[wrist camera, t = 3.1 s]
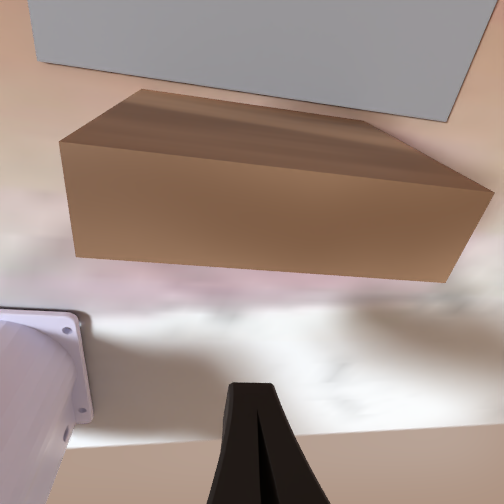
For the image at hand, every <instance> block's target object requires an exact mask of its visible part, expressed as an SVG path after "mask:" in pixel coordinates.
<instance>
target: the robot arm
mask: <svg viewBox="0 0 504 504" xmlns="http://www.w3.org/2000/svg"><path fill="white" fill-rule="evenodd" d="M66 327H68V328H71V329H68V328H66ZM93 416H94V413H93V407H92V401H91V395H90V389H89V382H88V376H87V370H86V364H85V358H84V351H83V345H82V339H81V333H80V327H79V320H78V318H77V316H76V315H75V314H72V313H69V312H53V311H32V310H11V309H0V504H46V501H47V498H48V496H49V493H50V491H51V488H52V485H53V483H54V479H55V477H56V474H57V472H58V469H59V466H60V464H61V461H62V458H63V455H64V453H65V450H66V448H67V445H68V442H69V439H70V437H71V434H72V431H73V429H74V426H75V424H87V423H90V422H91V421H92V419H93ZM207 504H330V502H329V500H328V498H327V497H326V495H325V493H324V491H323V490H322V488H321V486H320V484H319V483H318V481H317V479H316V477H315V475H314V473H313V472H312V470H311V468H310V466H309V464H308V462H307V460H306V458H305V456H304V454H303V452H302V450H301V448H300V446H299V444H298V442H297V440H296V438H295V436H294V434H293V431H292V429H291V427H290V425H289V422H288V420H287V418H286V416H285V413H284V411H283V409H282V406H281V404H280V401H279V398H278V396H277V393H276V390H275V387H274V385H273V384H272V383H237V382H233V383H231V384H229V387H228V393H227V399H226V405H225V411H224V417H223V433H222V444H221V453H220V457H219V461H218V465H217V469H216V472H215V476H214V479H213V483H212V487H211V490H210V494H209V497H208V500H207Z"/></svg>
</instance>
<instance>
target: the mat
mask: <svg viewBox="0 0 504 504" xmlns="http://www.w3.org/2000/svg"><path fill="white" fill-rule="evenodd" d="M496 2H497V0H28V6H29V12H30V18H31V25H32V31H33V37H34V43H35V50H36V56H37V61H41V62H48V63H54V64H61V65H68V66H74V67H81V68H88V69H95V70H101V71H108V72H115V73H121V74H128V75H135V76H141V77H148V78H155V79H162V80H168V81H175V82H182V83H188V84H195V85H202V86H208V87H215V88H222V89H228V90H235V91H242V92H249V93H255V94H262V95H269V96H275V97H282V98H289V99H295V100H302V101H309V102H315V103H322V104H329V105H336V106H342V107H349V108H356V109H362V110H369V111H376V112H382V113H389V114H396V115H403V116H409V117H416V118H423V119H429V120H436V121H443V122H446V121H447V119H448V116H449V114H450V112H451V109H452V107H453V104H454V102H455V100H456V97H457V95H458V93H459V90H460V88H461V85H462V83H463V81H464V78H465V76H466V74H467V71H468V69H469V66H470V64H471V62H472V59H473V57H474V54H475V52H476V50H477V47H478V45H479V43H480V40H481V38H482V35H483V33H484V31H485V28H486V26H487V24H488V21H489V19H490V16H491V14H492V12H493V9H494V7H495V4H496Z"/></svg>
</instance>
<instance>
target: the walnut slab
mask: <svg viewBox="0 0 504 504" xmlns="http://www.w3.org/2000/svg"><path fill="white" fill-rule="evenodd" d="M59 146H60V153H61V160H62V166H63V173H64V180H65V187H66V193H67V200H68V207H69V214H70V220H71V227H72V234H73V241H74V247H75V254H76V257H81V258H96V259H110V260H124V261H138V262H153V263H167V264H181V265H196V266H210V267H224V268H239V269H253V270H267V271H281V272H296V273H310V274H324V275H339V276H353V277H367V278H381V279H396V280H410V281H424V282H439V283H446V281H447V279H448V277H449V275H450V273H451V272H452V270H453V268H454V266H455V264H456V262H457V261H458V259H459V257H460V255H461V253H462V252H463V250H464V248H465V246H466V244H467V242H468V241H469V239H470V237H471V235H472V233H473V231H474V230H475V228H476V226H477V224H478V222H479V221H480V219H481V217H482V215H483V213H484V211H485V210H486V208H487V206H488V204H489V202H490V200H491V199H492V197H493V195H494V192H493V191H491V190H489V189H487V188H485V187H483V186H482V185H480V184H478V183H476V182H474V181H472V180H471V179H469V178H467V177H465V176H463V175H461V174H460V173H458V172H456V171H454V170H452V169H450V168H449V167H447V166H445V165H443V164H441V163H439V162H438V161H436V160H434V159H432V158H430V157H428V156H427V155H425V154H423V153H421V152H419V151H418V150H416V149H414V148H412V147H410V146H408V145H407V144H405V143H403V142H401V141H399V140H397V139H396V138H394V137H392V136H390V135H388V134H386V133H385V132H383V131H381V130H379V129H377V128H375V127H374V126H372V125H370V124H368V123H366V122H364V121H361V120H354V119H347V118H340V117H333V116H326V115H319V114H312V113H306V112H299V111H292V110H285V109H278V108H271V107H264V106H257V105H250V104H243V103H236V102H229V101H222V100H215V99H208V98H201V97H194V96H188V95H181V94H174V93H167V92H160V91H153V90H146V89H141V90H139V91H138V92H136V93H135V94H133V95H131V96H130V97H128V98H127V99H125V100H124V101H122V102H120V103H119V104H117V105H116V106H114V107H113V108H111V109H109V110H108V111H106V112H105V113H103V114H101V115H100V116H98V117H97V118H95V119H94V120H92V121H90V122H89V123H87V124H86V125H84V126H83V127H81V128H79V129H78V130H76V131H75V132H73V133H72V134H70V135H68V136H67V137H65V138H64V139H62V140H61V141H59Z"/></svg>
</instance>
